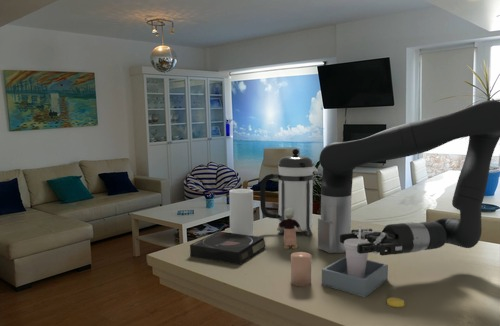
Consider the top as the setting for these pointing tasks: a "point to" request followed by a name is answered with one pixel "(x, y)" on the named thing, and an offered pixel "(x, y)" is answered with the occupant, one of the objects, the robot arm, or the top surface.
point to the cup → (241, 211)
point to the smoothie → (355, 257)
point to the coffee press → (293, 190)
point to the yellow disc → (395, 302)
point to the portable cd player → (227, 247)
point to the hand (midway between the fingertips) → (348, 243)
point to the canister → (301, 269)
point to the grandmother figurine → (289, 229)
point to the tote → (341, 280)
